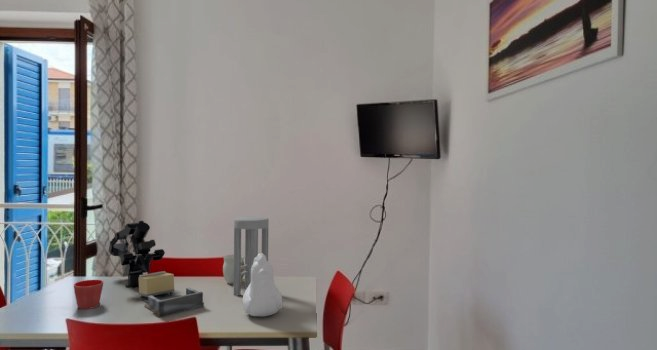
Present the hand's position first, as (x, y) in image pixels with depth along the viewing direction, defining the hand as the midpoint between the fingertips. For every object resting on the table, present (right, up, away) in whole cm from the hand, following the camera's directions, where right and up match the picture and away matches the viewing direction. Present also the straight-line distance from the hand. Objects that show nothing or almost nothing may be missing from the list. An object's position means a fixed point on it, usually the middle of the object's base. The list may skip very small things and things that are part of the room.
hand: (148, 271), depth 193 cm
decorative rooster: (+57, -11, -22) cm, 62 cm away
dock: (+14, -11, -14) cm, 23 cm away
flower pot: (-16, -10, -19) cm, 27 cm away
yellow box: (+7, -9, -7) cm, 14 cm away
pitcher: (+35, -10, +21) cm, 42 cm away
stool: (+47, -10, +1) cm, 49 cm away
